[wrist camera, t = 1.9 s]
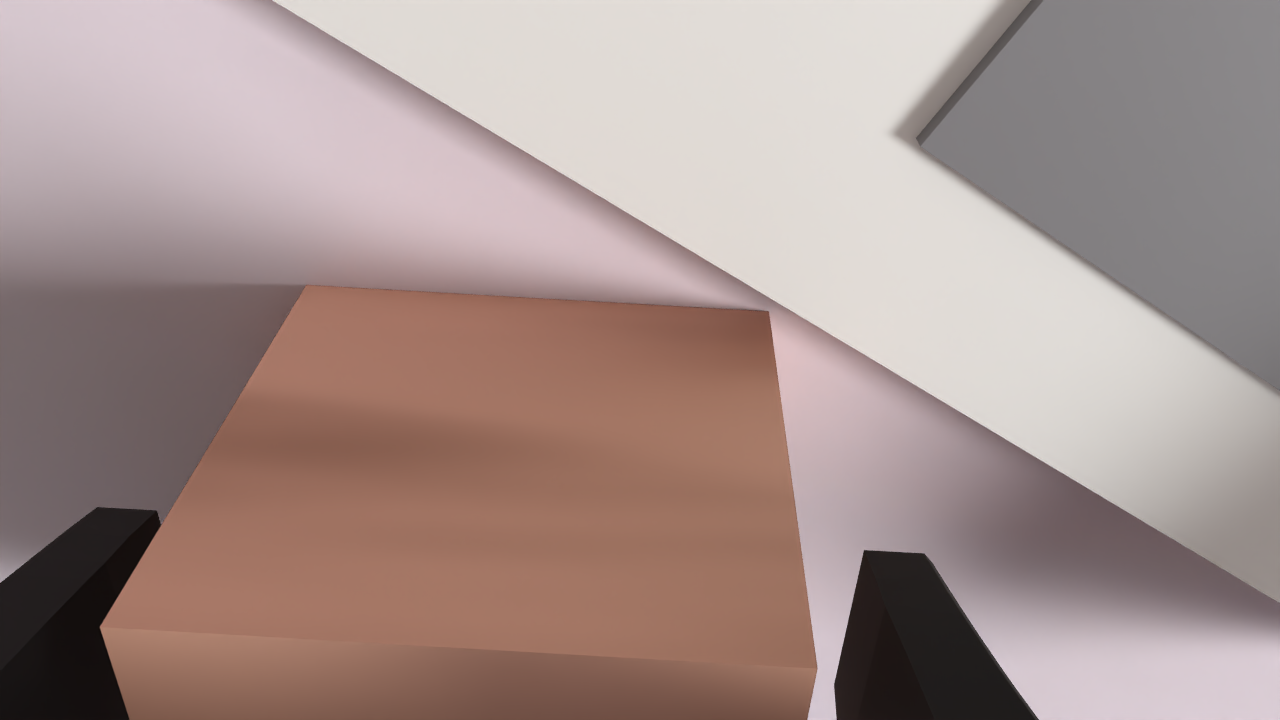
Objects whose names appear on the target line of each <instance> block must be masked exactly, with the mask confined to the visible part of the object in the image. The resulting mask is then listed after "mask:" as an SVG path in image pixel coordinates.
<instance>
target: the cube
mask: <svg viewBox="0 0 1280 720" xmlns="http://www.w3.org/2000/svg"><path fill="white" fill-rule="evenodd" d="M100 629H101V632H102V636H103V639H104V642H105V645H106V648H107V651H108V654H109V657H110V660H111V663H112V667H113V670H114V673H115V676H116V679H117V682H118V685H119V688H120V691H121V694H122V698H123V701H124V704H125V707H126V710H127V713H128V716H129V719H130V720H807V718H808V713H809V708H810V703H811V698H812V693H813V688H814V683H815V678H816V673H817V662H816V655H815V647H814V640H813V633H812V625H811V618H810V610H809V603H808V596H807V588H806V581H805V574H804V566H803V559H802V552H801V544H800V537H799V530H798V522H797V515H796V508H795V500H794V493H793V486H792V478H791V471H790V463H789V456H788V449H787V441H786V434H785V427H784V419H783V412H782V405H781V397H780V390H779V383H778V375H777V368H776V361H775V353H774V346H773V339H772V331H771V324H770V316H769V312H768V311H751V310H733V309H716V308H699V307H681V306H664V305H647V304H629V303H612V302H595V301H577V300H560V299H542V298H525V297H508V296H490V295H473V294H456V293H438V292H421V291H404V290H386V289H369V288H352V287H334V286H317V285H306V286H305V288H304V290H303V291H302V293H301V295H300V296H299V298H298V300H297V301H296V303H295V305H294V306H293V308H292V310H291V311H290V313H289V315H288V316H287V318H286V319H285V321H284V323H283V324H282V326H281V328H280V329H279V331H278V333H277V334H276V336H275V338H274V339H273V341H272V343H271V344H270V346H269V348H268V349H267V351H266V353H265V354H264V356H263V358H262V359H261V361H260V363H259V364H258V366H257V368H256V369H255V371H254V372H253V374H252V376H251V377H250V379H249V381H248V382H247V384H246V386H245V387H244V389H243V391H242V392H241V394H240V396H239V397H238V399H237V401H236V402H235V404H234V406H233V407H232V409H231V411H230V412H229V414H228V416H227V417H226V419H225V421H224V422H223V424H222V425H221V427H220V429H219V430H218V432H217V434H216V435H215V437H214V439H213V440H212V442H211V444H210V445H209V447H208V449H207V450H206V452H205V454H204V455H203V457H202V459H201V460H200V462H199V464H198V465H197V467H196V469H195V470H194V472H193V474H192V475H191V477H190V478H189V480H188V482H187V483H186V485H185V487H184V488H183V490H182V492H181V493H180V495H179V497H178V498H177V500H176V502H175V503H174V505H173V507H172V508H171V510H170V512H169V513H168V515H167V517H166V518H165V520H164V522H163V523H162V525H161V527H160V528H159V530H158V532H157V533H156V535H155V536H154V538H153V540H152V541H151V543H150V545H149V546H148V548H147V550H146V551H145V553H144V555H143V556H142V558H141V560H140V561H139V563H138V565H137V566H136V568H135V570H134V571H133V573H132V575H131V576H130V578H129V580H128V581H127V583H126V585H125V586H124V588H123V589H122V591H121V593H120V594H119V596H118V598H117V599H116V601H115V603H114V604H113V606H112V608H111V609H110V611H109V613H108V614H107V616H106V618H105V619H104V621H103V623H102V624H101V626H100Z"/></svg>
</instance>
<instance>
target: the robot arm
mask: <svg viewBox="0 0 1280 720" xmlns="http://www.w3.org/2000/svg"><path fill="white" fill-rule="evenodd" d="M160 527H161V524H160V521H159V517H158V513H157V511H155V510H137V509H119V508H101V507H97V508H96V509H94V510H93V511H92V512H90V513H89V514H88V515H86V516H85V517H84V518H82V519H81V520H80V521H78V522H77V523H76V524H74V525H73V526H72V527H70V528H69V529H68V530H67V531H65V532H64V533H63V534H61V535H60V536H59V537H58V538H56V539H55V540H54V541H53V542H51V543H50V544H49V545H48V546H46V547H45V548H44V549H42V550H41V551H40V552H39V553H37V554H36V555H35V556H34V557H32V558H31V559H30V560H29V561H27V562H26V563H25V564H24V565H22V566H21V567H20V568H19V569H17V570H16V571H15V572H14V573H12V574H11V575H10V576H9V577H7V578H6V579H5V580H4V581H2V582H1V583H0V720H130V719H129V716H128V713H127V710H126V707H125V704H124V701H123V698H122V694H121V691H120V688H119V685H118V682H117V679H116V676H115V673H114V670H113V667H112V663H111V660H110V657H109V654H108V651H107V648H106V645H105V642H104V639H103V636H102V632H101V629H100V626H101V624H102V623H103V621H104V619H105V618H106V616H107V614H108V613H109V611H110V609H111V608H112V606H113V604H114V603H115V601H116V599H117V598H118V596H119V594H120V593H121V591H122V589H123V588H124V586H125V585H126V583H127V581H128V580H129V578H130V576H131V575H132V573H133V571H134V570H135V568H136V566H137V565H138V563H139V561H140V560H141V558H142V556H143V555H144V553H145V551H146V550H147V548H148V546H149V545H150V543H151V541H152V540H153V538H154V536H155V535H156V533H157V532H158V530H159V528H160ZM834 689H835V702H836V715H837V720H1039V719H1038V718H1037V717H1036V715H1035V714H1034V713H1033V711H1032V710H1031V709H1030V707H1029V706H1028V704H1027V703H1026V702H1025V700H1024V699H1023V698H1022V696H1021V695H1020V694H1019V692H1018V691H1017V690H1016V688H1015V687H1014V685H1013V684H1012V682H1011V681H1010V680H1009V678H1008V677H1007V675H1006V674H1005V672H1004V671H1003V670H1002V668H1001V667H1000V665H999V664H998V662H997V661H996V659H995V658H994V657H993V655H992V654H991V652H990V651H989V649H988V648H987V646H986V645H985V643H984V642H983V640H982V639H981V637H980V636H979V634H978V633H977V631H976V630H975V628H974V627H973V625H972V624H971V622H970V621H969V619H968V618H967V616H966V615H965V613H964V612H963V610H962V609H961V607H960V606H959V604H958V602H957V601H956V599H955V598H954V596H953V595H952V593H951V592H950V590H949V588H948V587H947V585H946V584H945V582H944V581H943V579H942V577H941V576H940V574H939V573H938V571H937V570H936V568H935V566H934V565H933V563H932V562H931V561H930V560H929V559H928V557H927V556H926V555H925V554H922V553H904V552H887V551H869V550H864V553H863V557H862V562H861V566H860V571H859V575H858V580H857V584H856V589H855V593H854V598H853V602H852V607H851V611H850V616H849V620H848V625H847V629H846V634H845V638H844V643H843V647H842V652H841V656H840V661H839V665H838V670H837V674H836V679H835V683H834Z"/></svg>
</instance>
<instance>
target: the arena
mask: <svg viewBox="0 0 1280 720" xmlns="http://www.w3.org/2000/svg"><path fill="white" fill-rule="evenodd" d="M272 1H274V2H276V3H277V4H279V5H281V6H282V7H284V8H286V9H287V10H289V11H291V12H292V13H294V14H296V15H298V16H299V17H301V18H303V19H304V20H306V21H308V22H309V23H311V24H313V25H314V26H316V27H318V28H319V29H321V30H323V31H324V32H326V33H328V34H329V35H331V36H333V37H334V38H336V39H338V40H339V41H341V42H343V43H344V44H346V45H348V46H349V47H351V48H353V49H354V50H356V51H358V52H359V53H361V54H363V55H364V56H366V57H368V58H369V59H371V60H373V61H374V62H376V63H378V64H379V65H381V66H383V67H384V68H386V69H388V70H389V71H391V72H393V73H394V74H396V75H398V76H399V77H401V78H403V79H404V80H406V81H408V82H409V83H411V84H413V85H414V86H416V87H418V88H419V89H421V90H423V91H425V92H426V93H428V94H430V95H431V96H433V97H435V98H436V99H438V100H440V101H441V102H443V103H445V104H446V105H448V106H450V107H451V108H453V109H455V110H456V111H458V112H460V113H461V114H463V115H465V116H466V117H468V118H470V119H471V120H473V121H475V122H476V123H478V124H480V125H481V126H483V127H485V128H486V129H488V130H490V131H491V132H493V133H495V134H496V135H498V136H500V137H501V138H503V139H505V140H506V141H508V142H510V143H511V144H513V145H515V146H516V147H518V148H520V149H521V150H523V151H525V152H526V153H528V154H530V155H531V156H533V157H535V158H536V159H538V160H540V161H541V162H543V163H545V164H546V165H548V166H550V167H552V168H553V169H555V170H557V171H558V172H560V173H562V174H563V175H565V176H567V177H568V178H570V179H572V180H573V181H575V182H577V183H578V184H580V185H582V186H583V187H585V188H587V189H588V190H590V191H592V192H593V193H595V194H597V195H598V196H600V197H602V198H603V199H605V200H607V201H608V202H610V203H612V204H613V205H615V206H617V207H618V208H620V209H622V210H623V211H625V212H627V213H628V214H630V215H632V216H633V217H635V218H637V219H638V220H640V221H642V222H643V223H645V224H647V225H648V226H650V227H652V228H653V229H655V230H657V231H658V232H660V233H662V234H663V235H665V236H667V237H668V238H670V239H672V240H673V241H675V242H677V243H679V244H680V245H682V246H684V247H685V248H687V249H689V250H690V251H692V252H694V253H695V254H697V255H699V256H700V257H702V258H704V259H705V260H707V261H709V262H710V263H712V264H714V265H715V266H717V267H719V268H720V269H722V270H724V271H725V272H727V273H729V274H730V275H732V276H734V277H735V278H737V279H739V280H740V281H742V282H744V283H745V284H747V285H749V286H750V287H752V288H754V289H755V290H757V291H759V292H760V293H762V294H764V295H765V296H767V297H769V298H770V299H772V300H774V301H775V302H777V303H779V304H780V305H782V306H784V307H785V308H787V309H789V310H790V311H792V312H794V313H795V314H797V315H799V316H800V317H802V318H804V319H806V320H807V321H809V322H811V323H812V324H814V325H816V326H817V327H819V328H821V329H822V330H824V331H826V332H827V333H829V334H831V335H832V336H834V337H836V338H837V339H839V340H841V341H842V342H844V343H846V344H847V345H849V346H851V347H852V348H854V349H856V350H857V351H859V352H861V353H862V354H864V355H866V356H867V357H869V358H871V359H872V360H874V361H876V362H877V363H879V364H881V365H882V366H884V367H886V368H887V369H889V370H891V371H892V372H894V373H896V374H897V375H899V376H901V377H902V378H904V379H906V380H907V381H909V382H911V383H912V384H914V385H916V386H917V387H919V388H921V389H922V390H924V391H926V392H927V393H929V394H931V395H933V396H934V397H936V398H938V399H939V400H941V401H943V402H944V403H946V404H948V405H949V406H951V407H953V408H954V409H956V410H958V411H959V412H961V413H963V414H964V415H966V416H968V417H969V418H971V419H973V420H974V421H976V422H978V423H979V424H981V425H983V426H984V427H986V428H988V429H989V430H991V431H993V432H994V433H996V434H998V435H999V436H1001V437H1003V438H1004V439H1006V440H1008V441H1009V442H1011V443H1013V444H1014V445H1016V446H1018V447H1019V448H1021V449H1023V450H1024V451H1026V452H1028V453H1029V454H1031V455H1033V456H1034V457H1036V458H1038V459H1039V460H1041V461H1043V462H1044V463H1046V464H1048V465H1049V466H1051V467H1053V468H1054V469H1056V470H1058V471H1059V472H1061V473H1063V474H1065V475H1066V476H1068V477H1070V478H1071V479H1073V480H1075V481H1076V482H1078V483H1080V484H1081V485H1083V486H1085V487H1086V488H1088V489H1090V490H1091V491H1093V492H1095V493H1096V494H1098V495H1100V496H1101V497H1103V498H1105V499H1106V500H1108V501H1110V502H1111V503H1113V504H1115V505H1116V506H1118V507H1120V508H1121V509H1123V510H1125V511H1126V512H1128V513H1130V514H1131V515H1133V516H1135V517H1136V518H1138V519H1140V520H1141V521H1143V522H1145V523H1146V524H1148V525H1150V526H1151V527H1153V528H1155V529H1156V530H1158V531H1160V532H1161V533H1163V534H1165V535H1166V536H1168V537H1170V538H1171V539H1173V540H1175V541H1176V542H1178V543H1180V544H1181V545H1183V546H1185V547H1186V548H1188V549H1190V550H1192V551H1193V552H1195V553H1197V554H1198V555H1200V556H1202V557H1203V558H1205V559H1207V560H1208V561H1210V562H1212V563H1213V564H1215V565H1217V566H1218V567H1220V568H1222V569H1223V570H1225V571H1227V572H1228V573H1230V574H1232V575H1233V576H1235V577H1237V578H1238V579H1240V580H1242V581H1243V582H1245V583H1247V584H1248V585H1250V586H1252V587H1253V588H1255V589H1257V590H1258V591H1260V592H1262V593H1263V594H1265V595H1267V596H1268V597H1270V598H1272V599H1273V600H1275V601H1277V602H1278V603H1280V0H272Z"/></svg>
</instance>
